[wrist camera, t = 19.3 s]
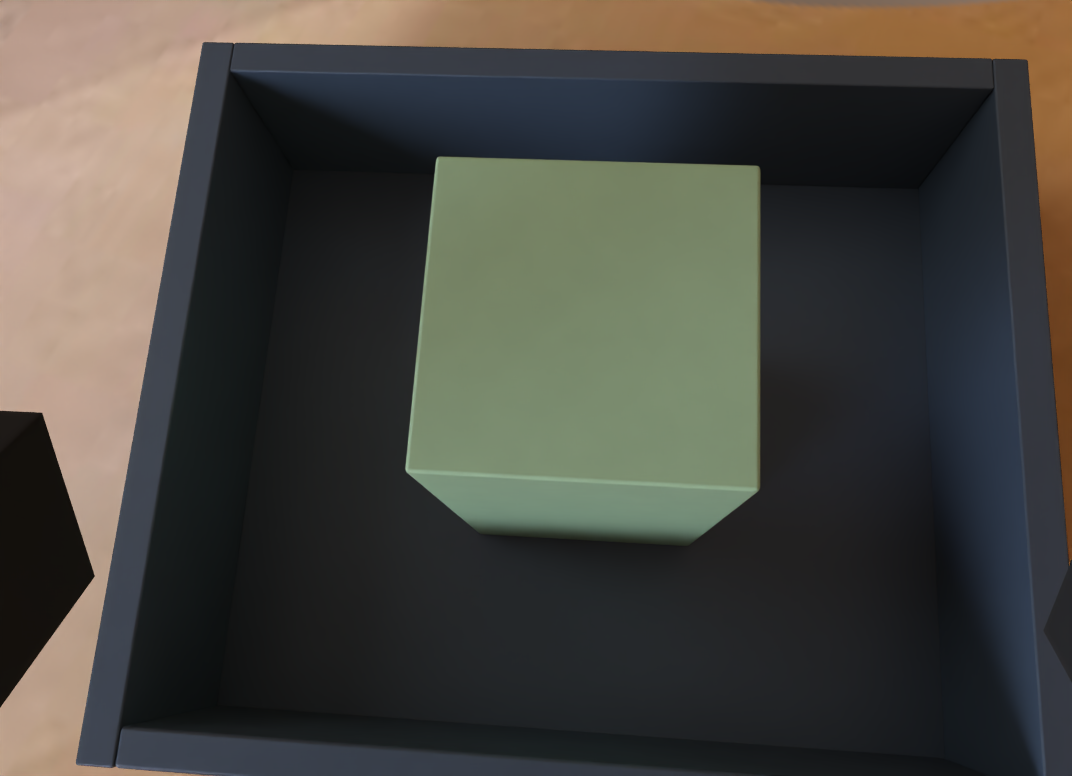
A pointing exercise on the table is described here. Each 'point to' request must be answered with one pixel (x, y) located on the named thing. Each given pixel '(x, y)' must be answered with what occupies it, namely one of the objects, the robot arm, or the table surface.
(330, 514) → the bin
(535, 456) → the block
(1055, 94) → the table surface
